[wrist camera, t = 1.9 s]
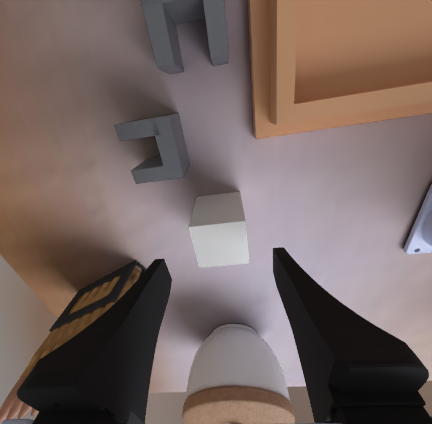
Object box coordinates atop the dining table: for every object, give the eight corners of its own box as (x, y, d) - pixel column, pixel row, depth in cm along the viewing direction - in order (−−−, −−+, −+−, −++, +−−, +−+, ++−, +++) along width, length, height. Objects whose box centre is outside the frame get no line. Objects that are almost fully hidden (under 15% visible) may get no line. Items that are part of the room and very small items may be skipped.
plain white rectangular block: (239, 191, 18) (245, 220, 13) (243, 227, 19) (249, 263, 15) (196, 196, 18) (188, 227, 14) (204, 231, 20) (199, 267, 16)
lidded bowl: (195, 355, 33) (183, 460, 23) (190, 310, 27) (171, 427, 17) (269, 358, 32) (289, 465, 23) (282, 313, 26) (316, 435, 17)
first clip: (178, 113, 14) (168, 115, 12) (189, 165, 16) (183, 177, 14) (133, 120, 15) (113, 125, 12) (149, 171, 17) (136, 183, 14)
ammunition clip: (89, 299, 26) (0, 430, 16) (78, 291, 25) (-24, 423, 15) (147, 269, 23) (84, 409, 12) (136, 259, 22) (59, 400, 12)
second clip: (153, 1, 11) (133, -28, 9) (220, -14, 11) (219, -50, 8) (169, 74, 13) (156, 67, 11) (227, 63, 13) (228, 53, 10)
